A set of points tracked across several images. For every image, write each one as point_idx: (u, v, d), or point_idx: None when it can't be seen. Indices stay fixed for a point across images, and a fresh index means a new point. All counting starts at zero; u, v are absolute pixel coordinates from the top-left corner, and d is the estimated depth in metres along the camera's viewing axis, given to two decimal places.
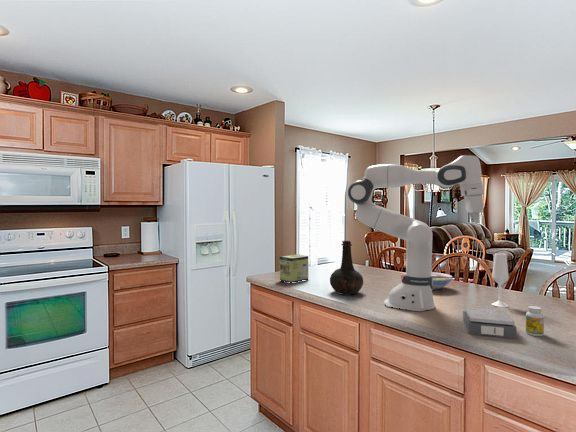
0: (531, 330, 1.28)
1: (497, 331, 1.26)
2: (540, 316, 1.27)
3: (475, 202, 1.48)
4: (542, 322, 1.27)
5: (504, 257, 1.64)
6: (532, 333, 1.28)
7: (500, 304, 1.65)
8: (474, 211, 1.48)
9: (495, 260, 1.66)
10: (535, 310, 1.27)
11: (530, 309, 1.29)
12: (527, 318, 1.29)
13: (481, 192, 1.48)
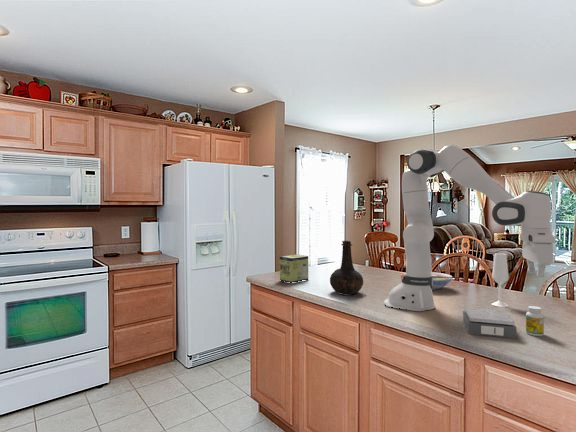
0: (531, 330, 1.28)
1: (497, 331, 1.26)
2: (540, 316, 1.27)
3: (543, 252, 1.19)
4: (542, 322, 1.27)
5: (504, 257, 1.64)
6: (532, 333, 1.28)
7: (500, 304, 1.65)
8: (540, 263, 1.20)
9: (495, 260, 1.66)
10: (535, 310, 1.27)
11: (530, 309, 1.29)
12: (527, 318, 1.29)
13: (552, 240, 1.20)
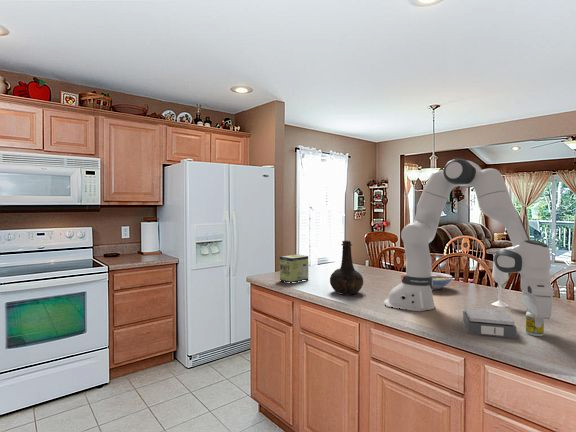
0: (531, 330, 1.28)
1: (497, 331, 1.26)
2: None
3: (542, 306, 1.20)
4: (542, 322, 1.27)
5: None
6: (532, 333, 1.28)
7: (500, 304, 1.65)
8: (539, 316, 1.20)
9: None
10: None
11: None
12: (527, 318, 1.29)
13: (551, 294, 1.20)
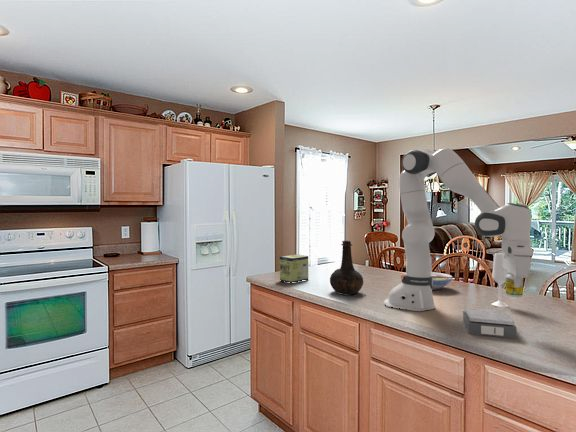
0: (511, 292, 1.30)
1: (497, 331, 1.26)
2: None
3: (521, 265, 1.22)
4: (521, 284, 1.29)
5: None
6: (511, 294, 1.30)
7: (500, 304, 1.65)
8: (518, 275, 1.22)
9: (495, 260, 1.66)
10: None
11: None
12: (507, 280, 1.31)
13: (530, 253, 1.22)
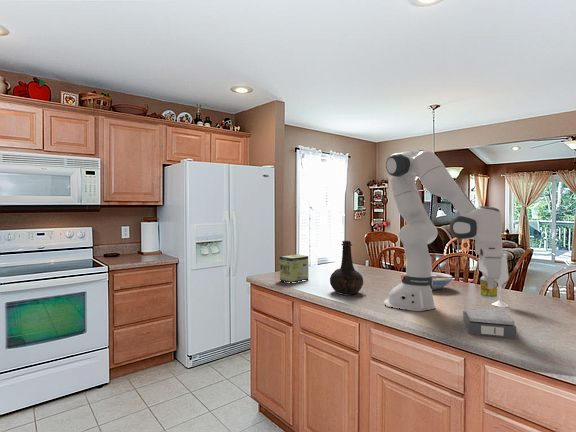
0: (485, 293, 1.32)
1: (497, 331, 1.26)
2: None
3: (492, 266, 1.24)
4: (495, 285, 1.31)
5: (504, 257, 1.64)
6: (485, 296, 1.32)
7: (500, 304, 1.65)
8: (490, 277, 1.25)
9: None
10: None
11: None
12: (481, 282, 1.34)
13: (500, 255, 1.25)
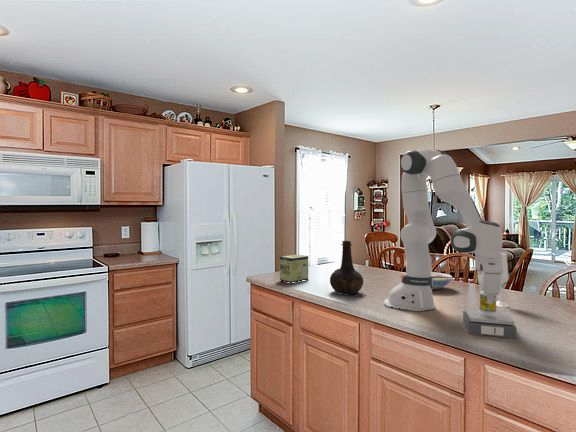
0: (484, 308, 1.32)
1: (497, 331, 1.26)
2: None
3: (492, 282, 1.25)
4: (494, 300, 1.32)
5: (504, 257, 1.64)
6: (485, 311, 1.32)
7: (500, 304, 1.65)
8: (489, 292, 1.25)
9: None
10: None
11: None
12: (481, 296, 1.34)
13: (500, 271, 1.25)
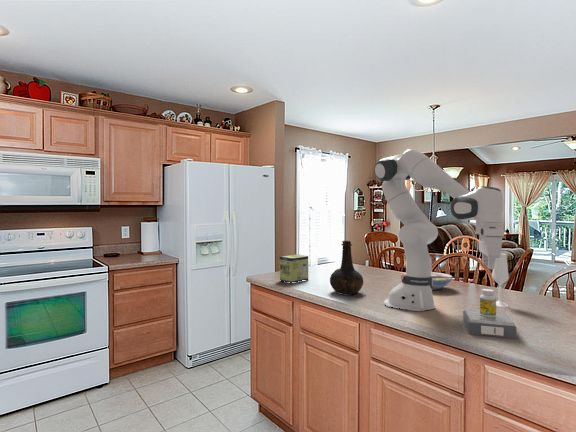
0: (484, 312, 1.32)
1: (497, 331, 1.26)
2: (492, 298, 1.31)
3: (493, 245, 1.24)
4: (494, 304, 1.32)
5: (504, 257, 1.64)
6: (485, 314, 1.32)
7: (500, 304, 1.65)
8: (490, 255, 1.25)
9: (495, 260, 1.66)
10: (488, 292, 1.32)
11: (483, 291, 1.33)
12: (480, 300, 1.34)
13: (501, 234, 1.24)
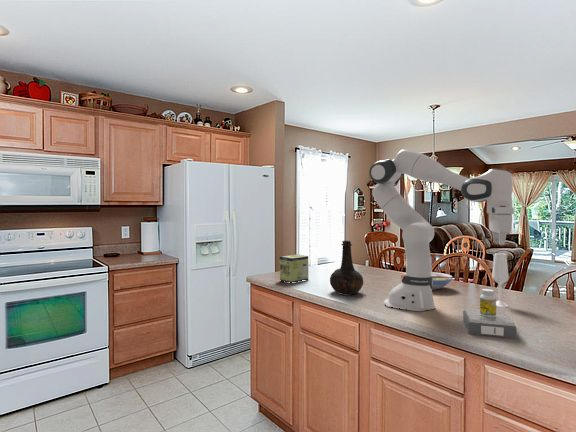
0: (484, 312, 1.32)
1: (497, 331, 1.26)
2: (492, 298, 1.31)
3: (503, 222, 1.34)
4: (494, 304, 1.32)
5: (504, 257, 1.64)
6: (485, 314, 1.32)
7: (500, 304, 1.65)
8: (501, 232, 1.35)
9: (495, 260, 1.66)
10: (488, 292, 1.32)
11: (483, 291, 1.33)
12: (480, 300, 1.34)
13: (511, 211, 1.35)
